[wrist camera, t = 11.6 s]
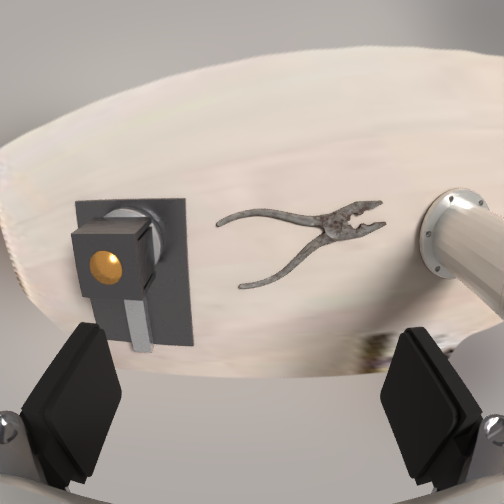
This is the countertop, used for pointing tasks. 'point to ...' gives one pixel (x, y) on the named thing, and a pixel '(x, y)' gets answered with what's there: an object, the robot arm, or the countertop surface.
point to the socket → (115, 257)
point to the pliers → (331, 223)
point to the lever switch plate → (164, 285)
